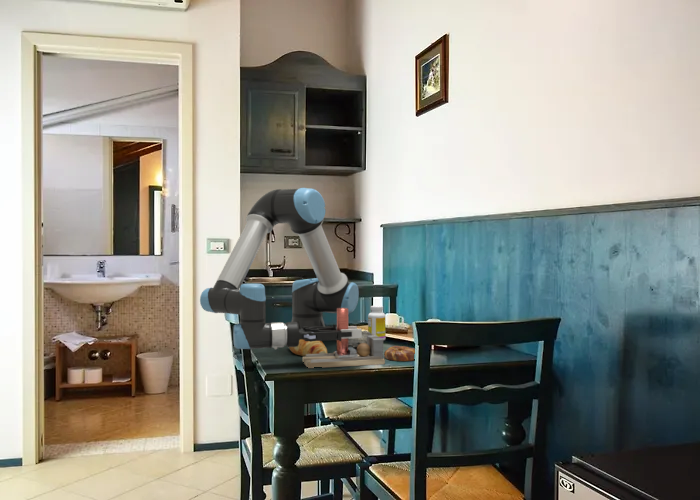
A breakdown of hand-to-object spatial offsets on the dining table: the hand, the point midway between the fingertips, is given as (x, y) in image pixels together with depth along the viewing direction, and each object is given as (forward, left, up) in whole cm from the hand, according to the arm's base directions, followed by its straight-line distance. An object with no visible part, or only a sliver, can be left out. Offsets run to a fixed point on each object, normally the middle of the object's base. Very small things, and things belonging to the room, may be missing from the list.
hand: (358, 331), depth 188 cm
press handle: (0, -4, -8) cm, 9 cm away
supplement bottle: (-37, +17, -10) cm, 42 cm away
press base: (0, -5, -10) cm, 11 cm away
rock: (-19, +6, -10) cm, 22 cm away
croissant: (-17, -14, -10) cm, 24 cm away
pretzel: (-3, +15, -10) cm, 18 cm away
